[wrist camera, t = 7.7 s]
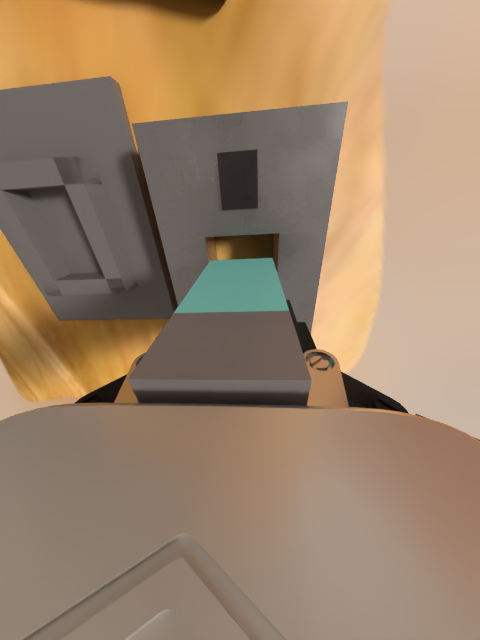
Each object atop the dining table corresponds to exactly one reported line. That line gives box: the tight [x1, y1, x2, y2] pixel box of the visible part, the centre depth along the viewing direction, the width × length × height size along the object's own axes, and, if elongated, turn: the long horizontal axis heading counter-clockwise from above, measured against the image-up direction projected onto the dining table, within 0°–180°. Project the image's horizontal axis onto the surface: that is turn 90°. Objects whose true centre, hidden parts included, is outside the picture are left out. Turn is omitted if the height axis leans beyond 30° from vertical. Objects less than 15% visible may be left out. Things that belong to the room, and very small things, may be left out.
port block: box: [132, 102, 348, 334], centre depth 18 cm, size 20×12×4 cm, turn 3°
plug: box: [127, 258, 312, 406], centre depth 10 cm, size 6×4×10 cm, turn 3°
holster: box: [0, 76, 177, 321], centre depth 17 cm, size 18×14×3 cm
